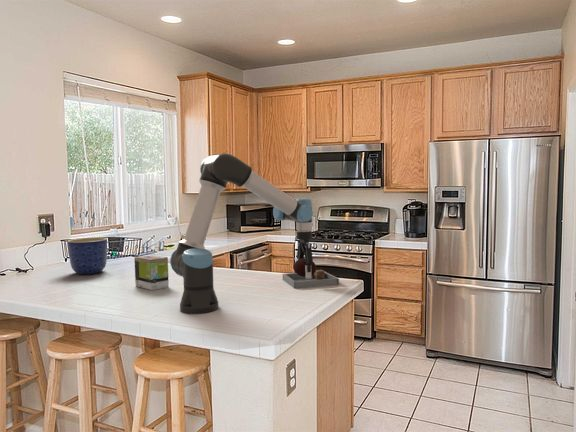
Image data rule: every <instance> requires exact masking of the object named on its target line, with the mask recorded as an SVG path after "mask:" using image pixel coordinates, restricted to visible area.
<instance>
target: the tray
mask: <svg viewBox="0 0 576 432" xmlns="http://www.w3.org/2000/svg"><path fill="white" fill-rule="evenodd" d="M323 271H324V279H319V280H317V279H315V278H314V274H313V275H312V276H311V279H306V277H302V276H299V275H298V274H297V273H296V272H294V273H293V272H292V273H282V280H283V282H285V283H286V284H287V285H289V286H290V287H291V288H293V289H306V288H317V287H327V286H338V285H340V281H339V280H340V279H339V278H338V277H337V276H334V275H333V274H330V273H328V272H327V271H325V270H323Z"/></svg>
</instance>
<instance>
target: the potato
mask: <svg viewBox="0 0 576 432" xmlns="http://www.w3.org/2000/svg"><path fill="white" fill-rule="evenodd" d="M305 264H306V261H305V257H304V258H302V259H299V260H298V259H296V260H295V262H294V263H293V266H292V268H293V271H294V273H297V274H298V275H299V276H302V277H306V273H305ZM316 270H317V265H316V263H315V261H313V264H312V265H311V276H312V275H313V274H314V273H315V272H316Z"/></svg>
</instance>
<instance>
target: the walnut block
mask: <svg viewBox="0 0 576 432" xmlns="http://www.w3.org/2000/svg"><path fill="white" fill-rule="evenodd" d="M324 271H325V270H323V269H316V272H315V273H314V278H315V279H317V280H319V279H324Z"/></svg>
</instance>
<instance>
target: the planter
mask: <svg viewBox="0 0 576 432" xmlns="http://www.w3.org/2000/svg"><path fill="white" fill-rule="evenodd" d="M66 242H67V249H68V256H69V264H70V267H71V269H72V270H73V272H75V273H76V274H77V275H83V276H85V275H95V274H98V273H101V272H102V271H103V270H104V269H105V268H106V266H107V262H108V261H107V259H108V258H107V257H108V256H107V255H108V238H106V237H100V236H99V237H95V236H94V237H93V236H92V237H91V236H90V237H81V238H80V237H79V238H72V239H68V240H67V241H66Z"/></svg>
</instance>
